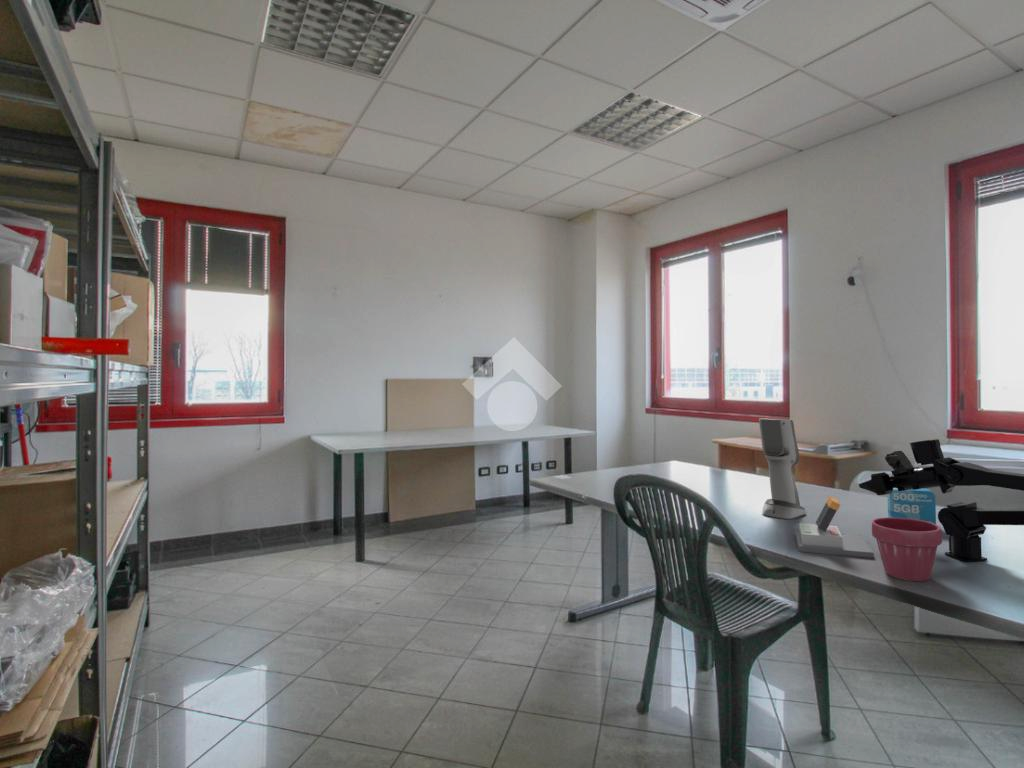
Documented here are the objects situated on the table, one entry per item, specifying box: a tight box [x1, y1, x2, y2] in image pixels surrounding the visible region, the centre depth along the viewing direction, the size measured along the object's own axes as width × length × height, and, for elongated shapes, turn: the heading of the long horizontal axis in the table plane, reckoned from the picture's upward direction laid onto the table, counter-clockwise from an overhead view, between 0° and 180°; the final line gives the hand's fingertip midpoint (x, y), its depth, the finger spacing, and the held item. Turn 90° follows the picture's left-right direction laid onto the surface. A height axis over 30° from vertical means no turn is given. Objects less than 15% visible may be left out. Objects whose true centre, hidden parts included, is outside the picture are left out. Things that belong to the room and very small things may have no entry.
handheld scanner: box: [758, 417, 807, 520], centre depth 194 cm, size 12×13×35 cm
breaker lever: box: [815, 495, 841, 532], centre depth 158 cm, size 2×7×9 cm, turn 156°
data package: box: [886, 488, 937, 525], centre depth 175 cm, size 12×4×12 cm, turn 64°
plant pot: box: [871, 517, 943, 582], centre depth 134 cm, size 14×14×13 cm
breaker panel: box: [794, 523, 875, 559], centre depth 157 cm, size 18×16×5 cm
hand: (868, 484), depth 167 cm, fingers open, 9 cm apart
